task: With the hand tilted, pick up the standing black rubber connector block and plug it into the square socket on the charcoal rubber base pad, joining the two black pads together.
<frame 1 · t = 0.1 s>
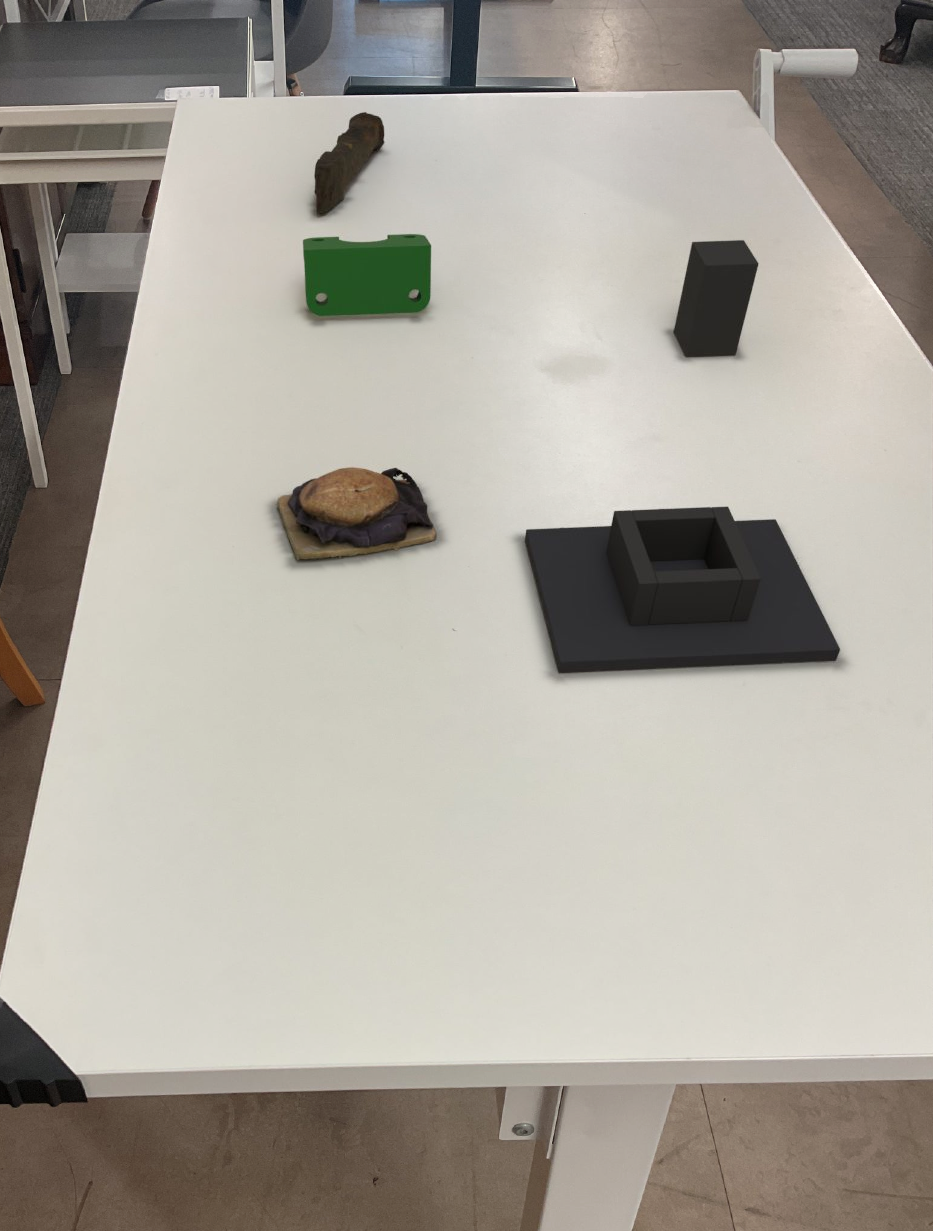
bread roll: (355, 524, 87), on the table
pad block: (704, 343, 104), on the table
base pad: (671, 597, 81), on the table
dark brown lumpy bar: (349, 184, 128), on the table
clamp: (365, 303, 110), on the table
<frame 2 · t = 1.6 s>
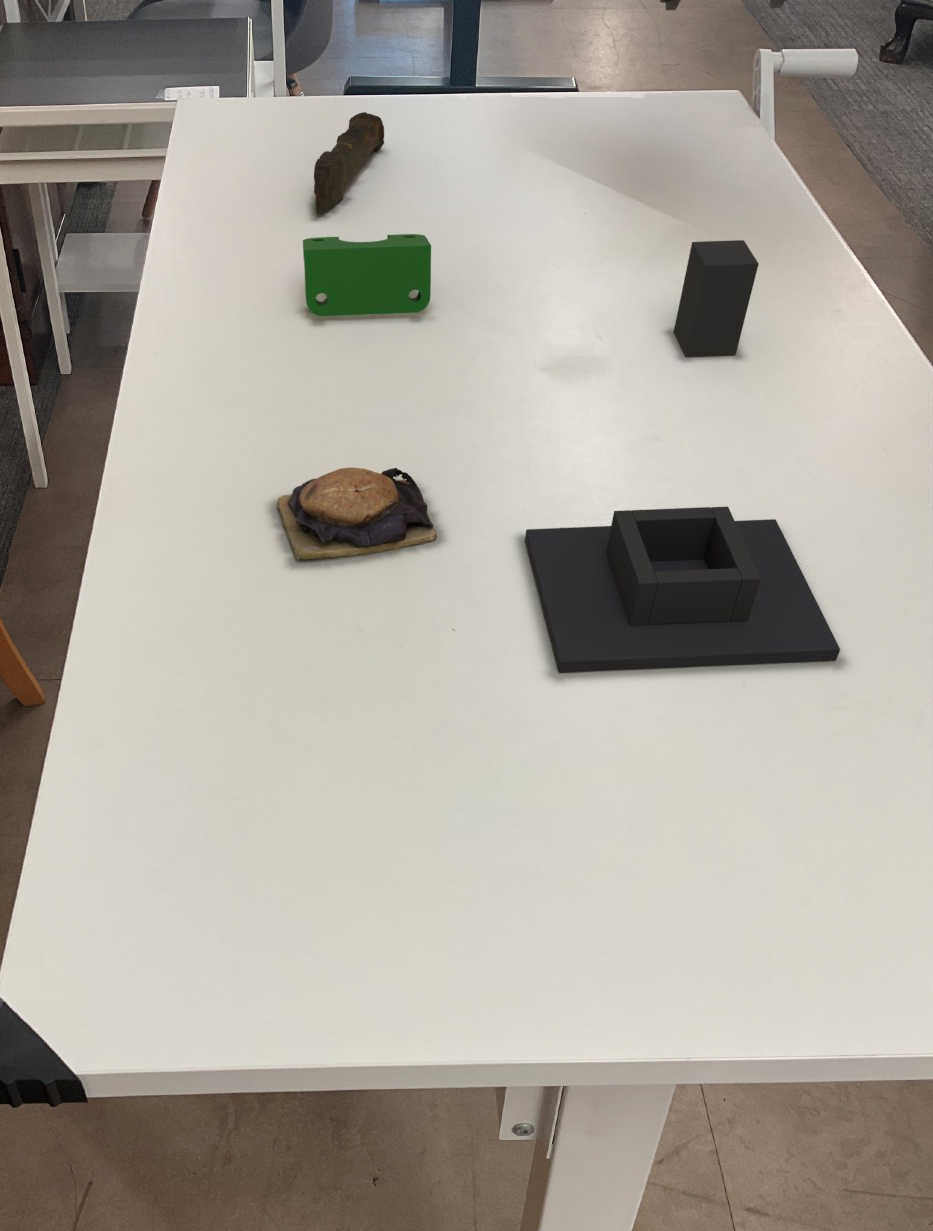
hand: (727, 3, 94), 23 cm above the table, tool tilted 45°, fingers open, 8 cm apart
nothing on the table moved.
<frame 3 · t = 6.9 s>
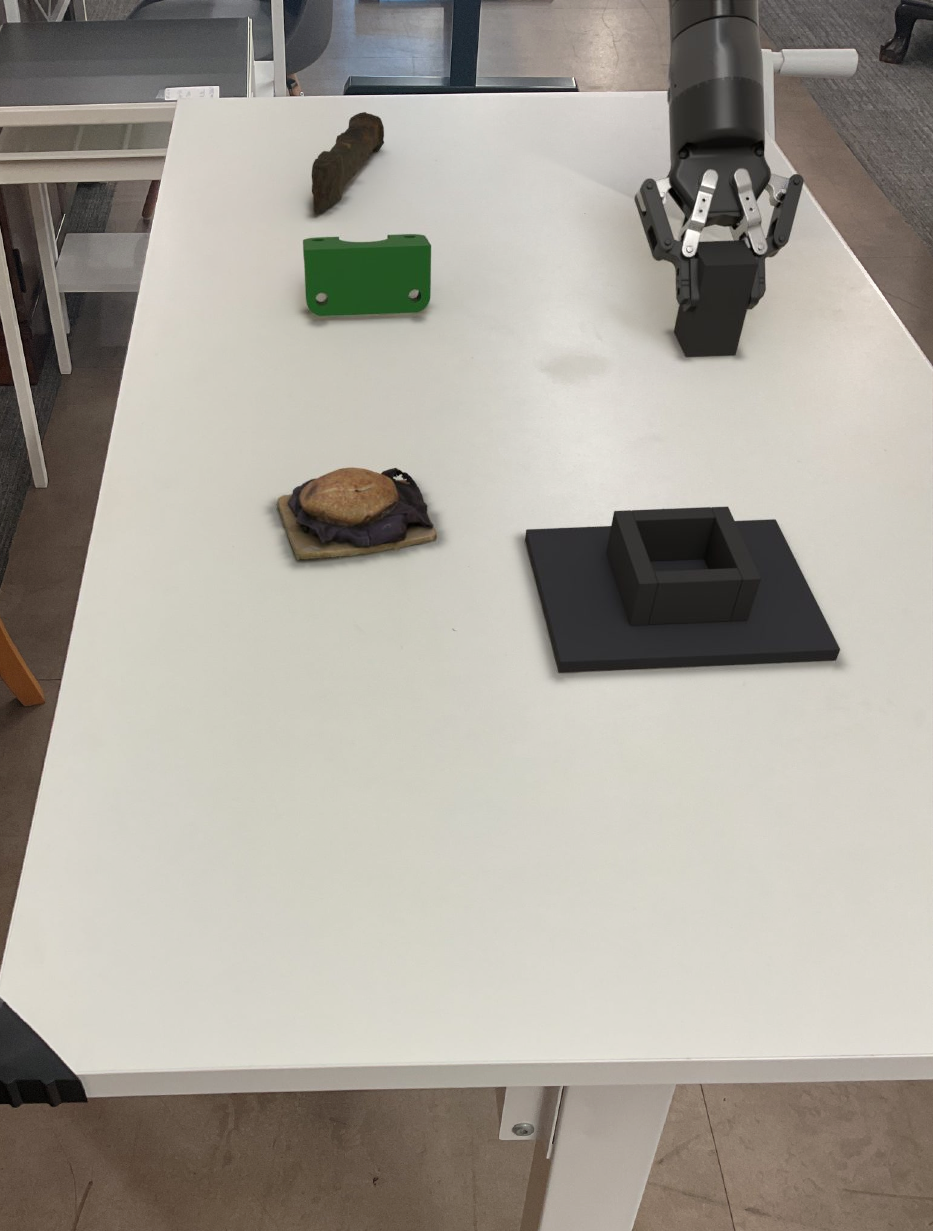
hand: (721, 306, 99), 4 cm above the table, tool tilted 45°, fingers closed on pad block, 4 cm apart
pad block: (704, 343, 104), on the table, touching gripper
everything else where it was.
when the fingers open (5 cm above the table, at t = 17.9 s): pad block stays where it is, resting on base pad.
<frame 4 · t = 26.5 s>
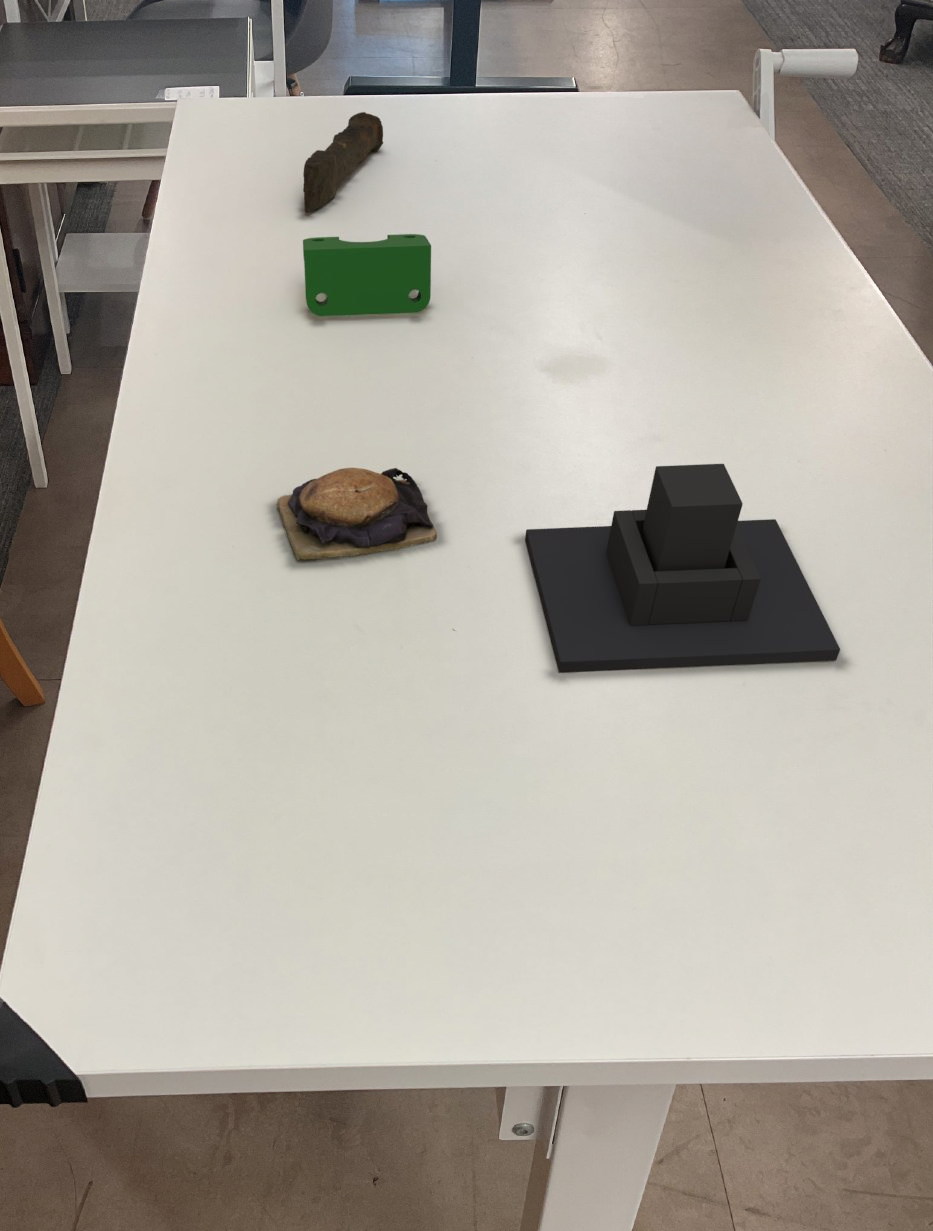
pad block: (673, 585, 80), point 1 cm above the table, touching base pad
everything else where it was.
at the end: pad block 0.1 cm off-centre on the base pad, point 1.0 cm above the base pad's base; pad block tilted 0°; the gripper is holding nothing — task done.
